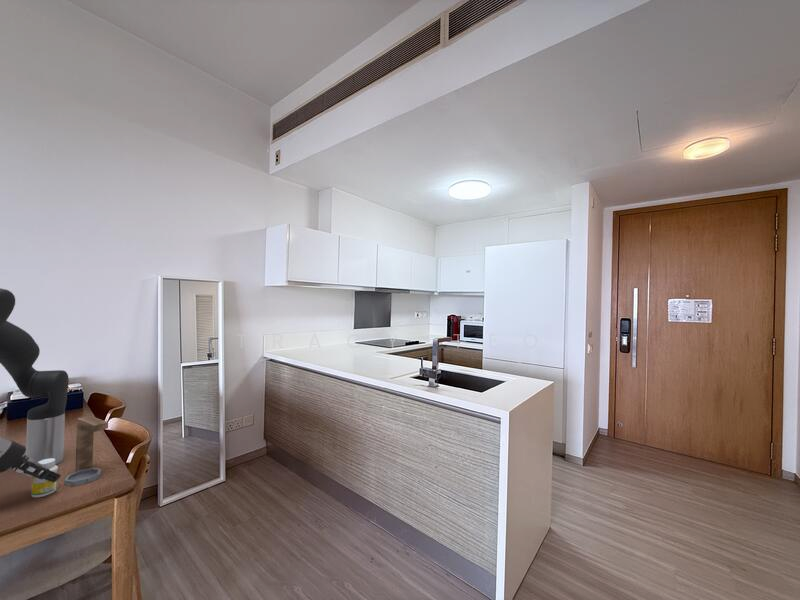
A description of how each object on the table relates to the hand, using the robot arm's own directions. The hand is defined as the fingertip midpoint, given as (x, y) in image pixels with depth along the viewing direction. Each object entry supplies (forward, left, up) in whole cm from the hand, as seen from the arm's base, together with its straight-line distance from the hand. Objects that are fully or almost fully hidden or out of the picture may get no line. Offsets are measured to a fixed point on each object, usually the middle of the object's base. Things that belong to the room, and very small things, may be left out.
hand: (53, 476), depth 101 cm
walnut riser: (-7, +7, -4) cm, 11 cm away
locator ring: (-4, +6, -4) cm, 8 cm away
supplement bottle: (+1, -2, -4) cm, 5 cm away
